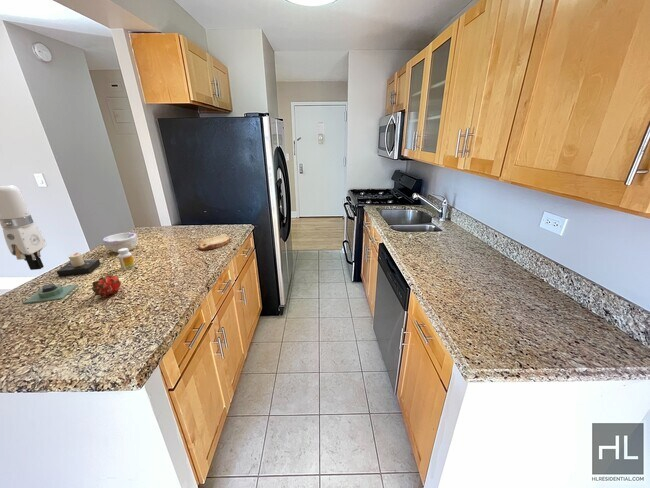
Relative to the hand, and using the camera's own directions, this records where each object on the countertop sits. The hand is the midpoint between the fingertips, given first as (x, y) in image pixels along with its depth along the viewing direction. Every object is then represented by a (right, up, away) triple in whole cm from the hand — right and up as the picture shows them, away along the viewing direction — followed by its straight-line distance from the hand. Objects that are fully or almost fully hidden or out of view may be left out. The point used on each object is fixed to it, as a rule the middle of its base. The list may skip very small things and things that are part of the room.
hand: (37, 268), depth 97 cm
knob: (-9, -1, +25) cm, 27 cm away
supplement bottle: (+12, -3, +29) cm, 32 cm away
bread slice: (+42, +9, +58) cm, 72 cm away
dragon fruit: (+21, -11, +8) cm, 25 cm away
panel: (-9, -4, +27) cm, 28 cm away
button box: (+1, -12, +5) cm, 13 cm away
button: (+1, -9, +4) cm, 10 cm away
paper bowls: (-7, +6, +50) cm, 51 cm away
